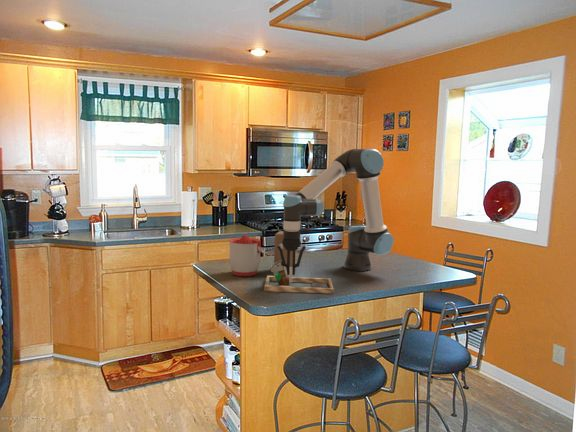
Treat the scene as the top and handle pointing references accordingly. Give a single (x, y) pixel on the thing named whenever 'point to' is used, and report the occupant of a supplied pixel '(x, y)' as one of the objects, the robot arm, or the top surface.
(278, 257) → the block
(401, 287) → the top surface
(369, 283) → the top surface
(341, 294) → the top surface
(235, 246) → the citrus juicer
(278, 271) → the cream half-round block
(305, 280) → the trap channel
